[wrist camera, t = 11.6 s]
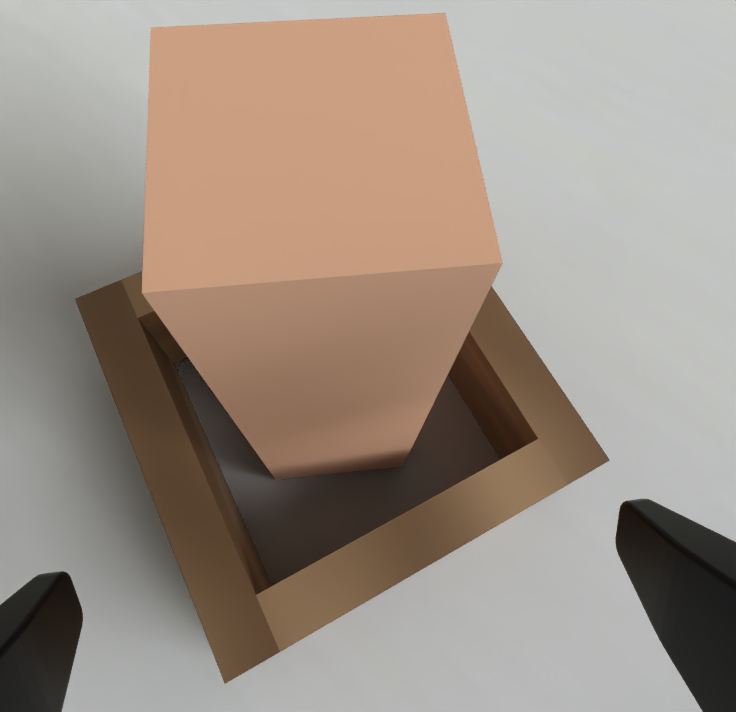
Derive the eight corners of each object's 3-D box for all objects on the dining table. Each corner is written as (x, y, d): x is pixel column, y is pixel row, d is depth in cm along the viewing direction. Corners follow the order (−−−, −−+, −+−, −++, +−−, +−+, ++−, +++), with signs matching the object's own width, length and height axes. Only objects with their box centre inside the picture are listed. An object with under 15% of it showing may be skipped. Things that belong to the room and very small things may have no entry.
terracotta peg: (402, 466, 20) (502, 262, 7) (276, 479, 20) (141, 292, 7) (386, 350, 22) (445, 13, 9) (269, 361, 22) (150, 27, 9)
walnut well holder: (250, 661, 18) (224, 683, 14) (122, 347, 22) (75, 298, 18) (561, 481, 20) (609, 460, 16) (397, 226, 24) (407, 162, 20)
